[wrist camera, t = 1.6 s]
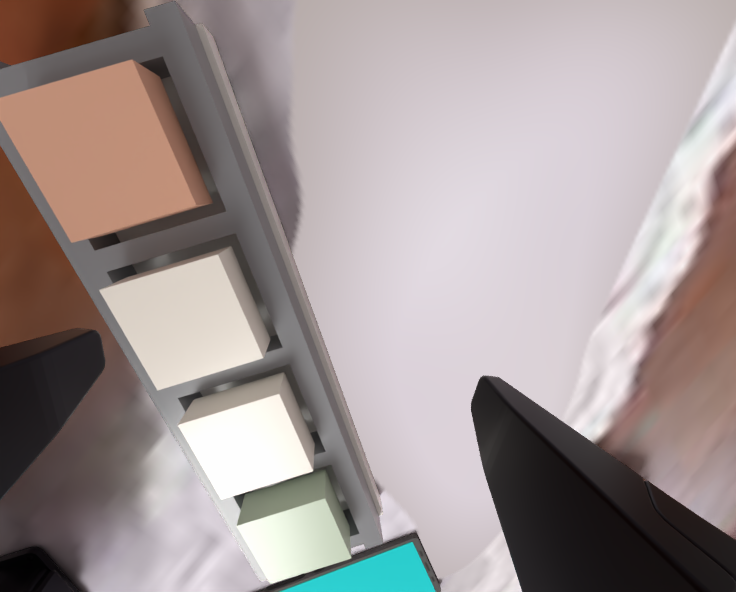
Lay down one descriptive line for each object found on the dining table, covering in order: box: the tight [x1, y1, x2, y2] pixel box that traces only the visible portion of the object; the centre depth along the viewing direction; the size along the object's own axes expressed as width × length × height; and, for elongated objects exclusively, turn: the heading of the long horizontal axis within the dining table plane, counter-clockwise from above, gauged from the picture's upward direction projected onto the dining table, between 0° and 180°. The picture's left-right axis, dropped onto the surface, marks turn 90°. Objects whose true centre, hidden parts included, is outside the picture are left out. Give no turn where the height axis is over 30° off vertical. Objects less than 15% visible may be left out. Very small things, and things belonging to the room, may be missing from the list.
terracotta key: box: [0, 60, 213, 243], centre depth 13 cm, size 5×5×2 cm
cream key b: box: [178, 372, 315, 500], centre depth 18 cm, size 5×5×2 cm
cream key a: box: [99, 246, 271, 391], centre depth 16 cm, size 5×5×2 cm
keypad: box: [0, 1, 383, 582], centre depth 19 cm, size 30×9×4 cm, turn 16°
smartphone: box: [258, 533, 441, 592], centre depth 29 cm, size 7×1×15 cm
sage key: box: [237, 469, 351, 584], centre depth 20 cm, size 5×5×2 cm
